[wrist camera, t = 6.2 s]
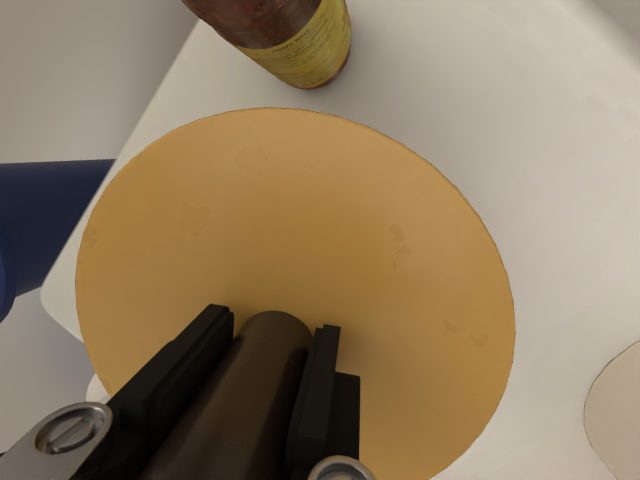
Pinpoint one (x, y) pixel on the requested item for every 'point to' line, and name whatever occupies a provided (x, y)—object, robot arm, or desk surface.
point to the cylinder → (617, 415)
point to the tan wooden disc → (299, 289)
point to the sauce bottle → (284, 35)
